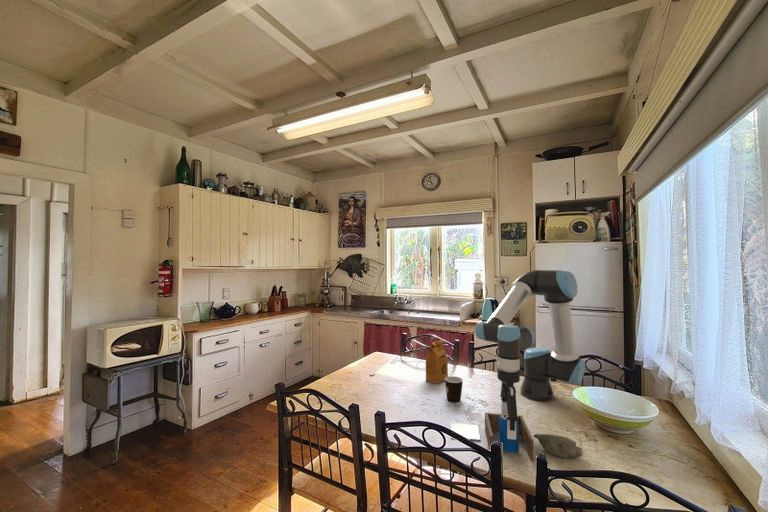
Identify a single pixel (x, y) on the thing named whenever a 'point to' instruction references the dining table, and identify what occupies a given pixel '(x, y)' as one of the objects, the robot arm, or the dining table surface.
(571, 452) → the fossil
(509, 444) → the beverage can
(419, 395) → the dining table surface
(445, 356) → the coffee package
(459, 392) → the coffee mug
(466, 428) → the white flat square slab
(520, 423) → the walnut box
